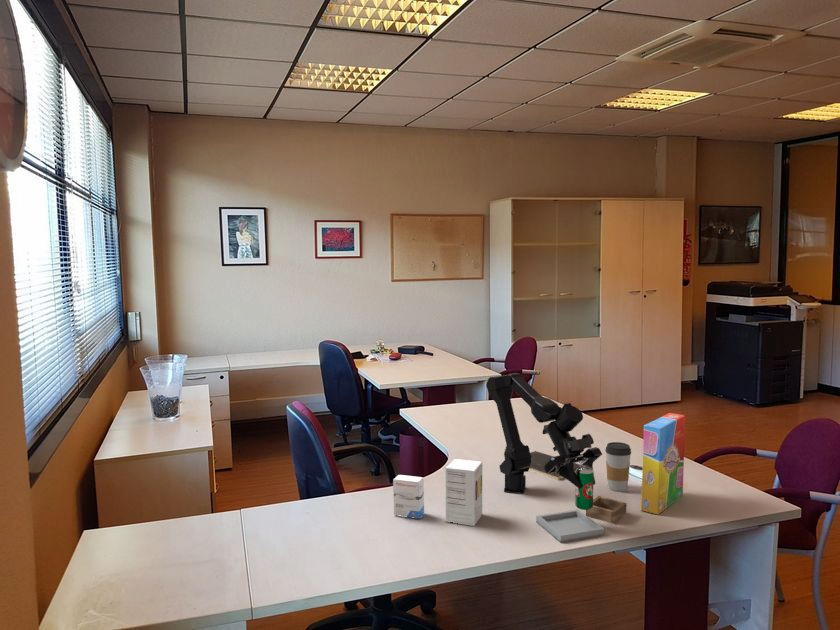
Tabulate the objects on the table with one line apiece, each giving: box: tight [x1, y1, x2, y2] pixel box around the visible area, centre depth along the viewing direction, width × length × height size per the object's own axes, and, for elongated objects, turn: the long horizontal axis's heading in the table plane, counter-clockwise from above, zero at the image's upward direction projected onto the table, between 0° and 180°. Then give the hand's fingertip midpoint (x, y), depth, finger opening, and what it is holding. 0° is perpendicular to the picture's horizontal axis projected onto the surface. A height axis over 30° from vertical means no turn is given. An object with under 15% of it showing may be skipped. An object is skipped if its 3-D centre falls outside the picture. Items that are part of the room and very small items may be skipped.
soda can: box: [574, 465, 595, 511], centre depth 185 cm, size 5×5×12 cm
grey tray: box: [535, 509, 605, 544], centre depth 183 cm, size 14×14×2 cm
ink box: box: [392, 474, 425, 519], centre depth 194 cm, size 8×5×12 cm, turn 71°
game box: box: [640, 412, 686, 515], centre depth 200 cm, size 21×6×27 cm, turn 137°
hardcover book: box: [529, 450, 580, 481], centre depth 236 cm, size 16×23×2 cm
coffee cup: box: [605, 441, 632, 493], centre depth 213 cm, size 8×8×15 cm
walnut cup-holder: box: [585, 495, 628, 525], centre depth 193 cm, size 9×9×4 cm
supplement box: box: [444, 458, 483, 527], centre depth 191 cm, size 10×9×17 cm
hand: (587, 486), depth 183 cm, fingers closed on soda can, 5 cm apart
